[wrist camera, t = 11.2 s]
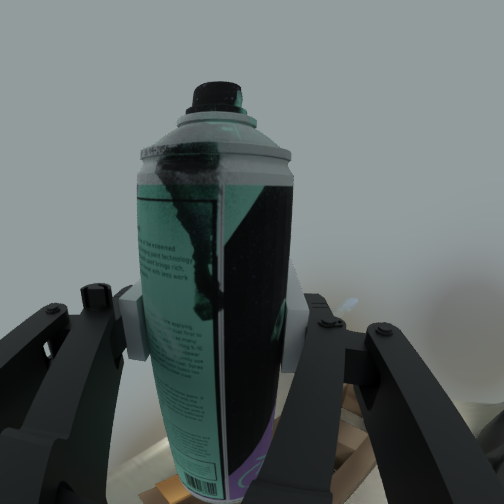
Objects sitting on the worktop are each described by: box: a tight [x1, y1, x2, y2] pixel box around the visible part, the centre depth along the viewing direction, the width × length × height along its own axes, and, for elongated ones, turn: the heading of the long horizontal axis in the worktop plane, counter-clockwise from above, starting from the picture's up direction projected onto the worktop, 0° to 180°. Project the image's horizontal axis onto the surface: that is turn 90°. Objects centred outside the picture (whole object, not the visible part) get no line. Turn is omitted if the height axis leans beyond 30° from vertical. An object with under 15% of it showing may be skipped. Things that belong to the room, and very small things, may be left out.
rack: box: [138, 383, 377, 504], centre depth 23 cm, size 12×31×6 cm, turn 133°
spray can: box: [137, 81, 294, 504], centre depth 12 cm, size 6×6×20 cm
